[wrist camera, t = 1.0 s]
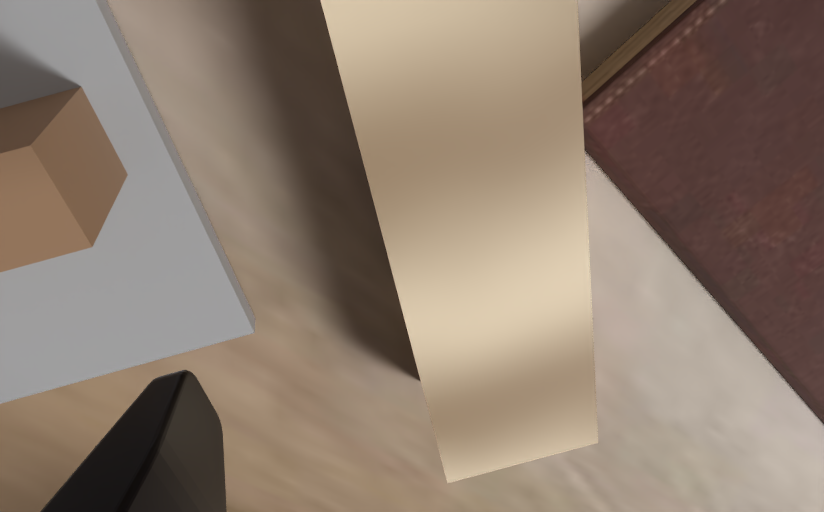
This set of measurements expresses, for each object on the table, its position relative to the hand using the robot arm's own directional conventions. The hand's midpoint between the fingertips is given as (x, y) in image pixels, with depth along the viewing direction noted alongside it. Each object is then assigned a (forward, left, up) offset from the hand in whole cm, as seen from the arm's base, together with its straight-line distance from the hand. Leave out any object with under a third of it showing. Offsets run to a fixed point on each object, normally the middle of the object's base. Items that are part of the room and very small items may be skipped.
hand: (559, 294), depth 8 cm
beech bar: (0, 0, -8) cm, 8 cm away
